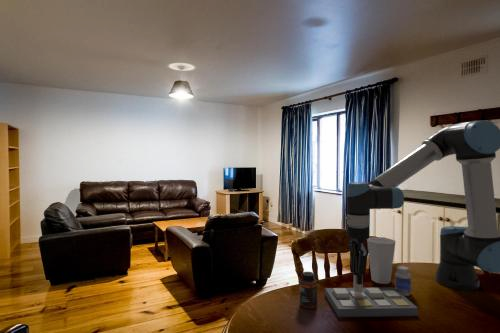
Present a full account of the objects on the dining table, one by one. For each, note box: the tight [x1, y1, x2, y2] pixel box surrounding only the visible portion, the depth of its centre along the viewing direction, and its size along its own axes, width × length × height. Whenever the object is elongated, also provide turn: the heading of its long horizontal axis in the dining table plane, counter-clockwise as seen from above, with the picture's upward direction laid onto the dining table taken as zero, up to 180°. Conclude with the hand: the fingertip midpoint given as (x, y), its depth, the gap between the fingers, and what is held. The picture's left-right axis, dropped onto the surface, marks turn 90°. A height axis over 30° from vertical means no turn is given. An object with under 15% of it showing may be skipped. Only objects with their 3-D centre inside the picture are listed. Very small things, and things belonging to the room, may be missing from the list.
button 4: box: [333, 287, 349, 299], centre depth 109 cm, size 4×4×2 cm
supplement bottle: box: [299, 271, 318, 310], centre depth 107 cm, size 6×6×11 cm
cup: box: [366, 236, 396, 285], centre depth 129 cm, size 11×10×17 cm
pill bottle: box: [394, 265, 412, 297], centre depth 117 cm, size 5×5×10 cm
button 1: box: [382, 290, 400, 298], centre depth 110 cm, size 4×4×2 cm
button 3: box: [349, 291, 366, 298], centre depth 109 cm, size 4×4×2 cm
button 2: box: [365, 287, 383, 298], centre depth 109 cm, size 4×4×2 cm
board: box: [324, 286, 419, 318], centre depth 107 cm, size 26×16×3 cm, turn 91°
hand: (358, 291), depth 109 cm, fingers closed
